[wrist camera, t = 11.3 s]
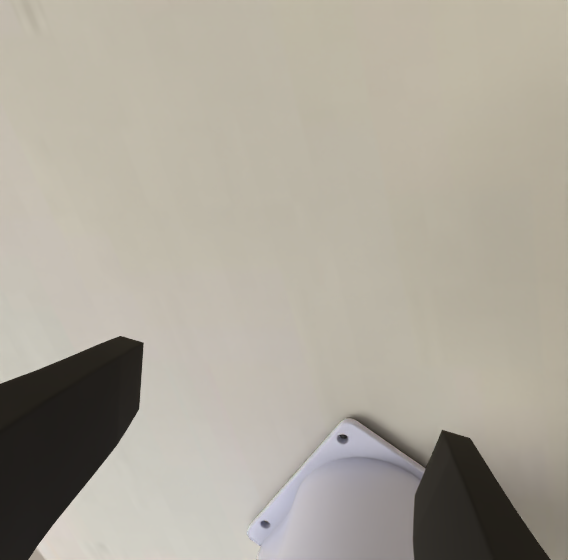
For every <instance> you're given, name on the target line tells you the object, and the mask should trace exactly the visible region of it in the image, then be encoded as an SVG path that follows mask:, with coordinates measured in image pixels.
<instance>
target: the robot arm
mask: <svg viewBox="0 0 568 560" xmlns="http://www.w3.org/2000/svg"><path fill="white" fill-rule="evenodd" d="M143 344H144V343H143V342H139V341H136V340H132V339H129V338H125V337H122V336H119V337H117V338H114V339H111V340H109V341H106V342H104V343H101V344H99V345H96V346H94V347H92V348H89V349H87V350H85V351H82V352H80V353H78V354H75V355H73V356H70V357H68V358H66V359H63V360H61V361H58V362H56V363H54V364H51V365H49V366H46V367H44V368H41V369H39V370H36V371H34V372H31V373H28V374H26V375H23V376H20V377H17V378H15V379H12V380H9V381H7V382H4V383H1V384H0V560H28V559H29V558H30V556H31V555H32V553H33V551H34V550H35V549H36V547H37V546H38V544H39V543H40V542H41V540H42V539H43V538H44V536H45V535H46V533H47V532H48V531H49V529H50V528H51V527H52V525H53V524H54V523H55V522H56V520H57V519H58V518H59V517H60V515H61V514H62V513H63V512H64V511H65V509H66V508H67V507H68V506H69V504H70V503H71V502H72V501H73V499H74V498H75V497H76V496H77V494H78V493H79V492H80V491H81V489H82V488H83V487H84V486H85V485H86V483H87V482H88V481H89V480H90V478H91V477H92V476H93V475H94V473H95V472H96V471H97V470H98V468H99V467H100V466H101V465H102V463H103V462H104V461H105V460H106V458H107V457H108V456H109V455H110V453H111V452H112V451H113V449H114V448H115V447H116V446H117V444H118V443H119V441H120V440H121V438H122V436H123V435H124V433H125V432H126V430H127V428H128V427H129V425H130V423H131V422H132V420H133V418H134V417H135V415H136V413H137V412H138V410H139V403H140V388H141V373H142V358H143ZM340 434H344V435H346V436H347V437H348V438H344V439H343V438H341V437H340V436H339V435H340ZM265 521H268V522H269V523H268V522H265ZM247 535H248V537H249V538H250V539H251V540H252V541H254V542H255V543H257V544H258V545H259V546H261V547H260V550H259V553H258V556H257V559H256V560H551V559H550V558H549V557H548V555H547V554H546V553H545V551H544V550H543V549H542V547H541V546H540V545H539V543H538V542H537V540H536V539H535V537H534V536H533V535H532V533H531V532H530V530H529V529H528V527H527V526H526V524H525V523H524V522H523V520H522V519H521V517H520V516H519V514H518V513H517V511H516V510H515V508H514V507H513V505H512V504H511V502H510V500H509V499H508V497H507V496H506V494H505V493H504V491H503V490H502V488H501V486H500V485H499V483H498V482H497V480H496V479H495V477H494V475H493V474H492V472H491V471H490V469H489V467H488V466H487V464H486V463H485V461H484V459H483V458H482V456H481V455H480V453H479V451H478V450H477V448H476V447H475V445H474V444H473V442H472V440H471V439H470V438H468V437H464V436H461V435H457V434H454V433H451V432H447V431H444V430H442V432H441V434H440V436H439V439H438V441H437V444H436V446H435V448H434V451H433V453H432V455H431V458H430V460H429V462H428V465H427V467H426V468H424V467H423V466H421V465H420V464H418V463H417V462H416V461H414V460H413V459H411V458H410V457H408V456H407V455H405V454H404V453H403V452H401V451H400V450H398V449H397V448H395V447H394V446H392V445H391V444H390V443H388V442H387V441H385V440H384V439H382V438H381V437H379V436H378V435H377V434H375V433H374V432H372V431H371V430H369V429H368V428H366V427H365V426H364V425H362V424H361V423H359V422H358V421H356V420H354V419H351V418H346V419H343V420H342V421H341V422H340V423H339V424H338V425H337V426H336V427H335V429H334V430H333V431H332V432H331V433H330V434H329V435H328V437H327V438H326V439H325V440H324V441H323V442H322V443H321V444H320V446H319V447H318V448H317V449H316V450H315V451H314V452H313V454H312V455H311V456H310V457H309V458H308V459H307V460H306V461H305V463H304V464H303V465H302V466H301V467H300V468H299V469H298V471H297V472H296V473H295V474H294V475H293V476H292V477H291V478H290V480H289V481H288V482H287V483H286V484H285V485H284V486H283V488H282V489H281V490H280V491H279V492H278V493H277V494H276V495H275V497H274V498H273V499H272V500H271V501H270V502H269V503H268V504H267V506H266V507H265V508H264V509H263V510H262V511H261V512H260V514H259V515H258V516H257V517H256V518H255V519H254V520H253V521H252V523H251V524H250V525H249V527H248V530H247Z"/></svg>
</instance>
